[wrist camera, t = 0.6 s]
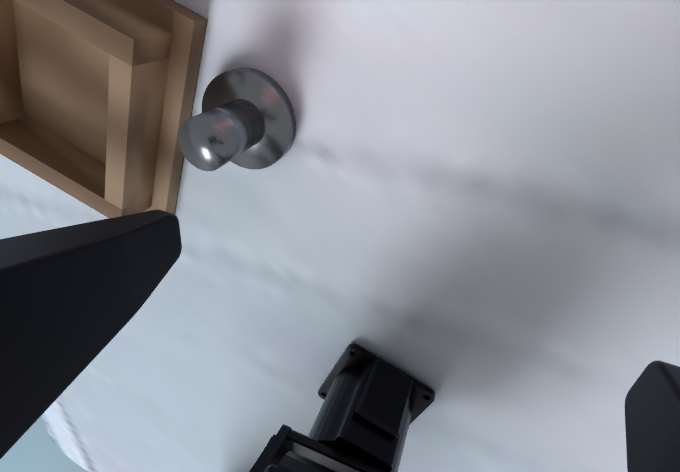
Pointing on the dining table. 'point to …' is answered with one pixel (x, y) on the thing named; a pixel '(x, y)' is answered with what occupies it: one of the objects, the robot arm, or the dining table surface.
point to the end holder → (99, 96)
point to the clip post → (239, 123)
